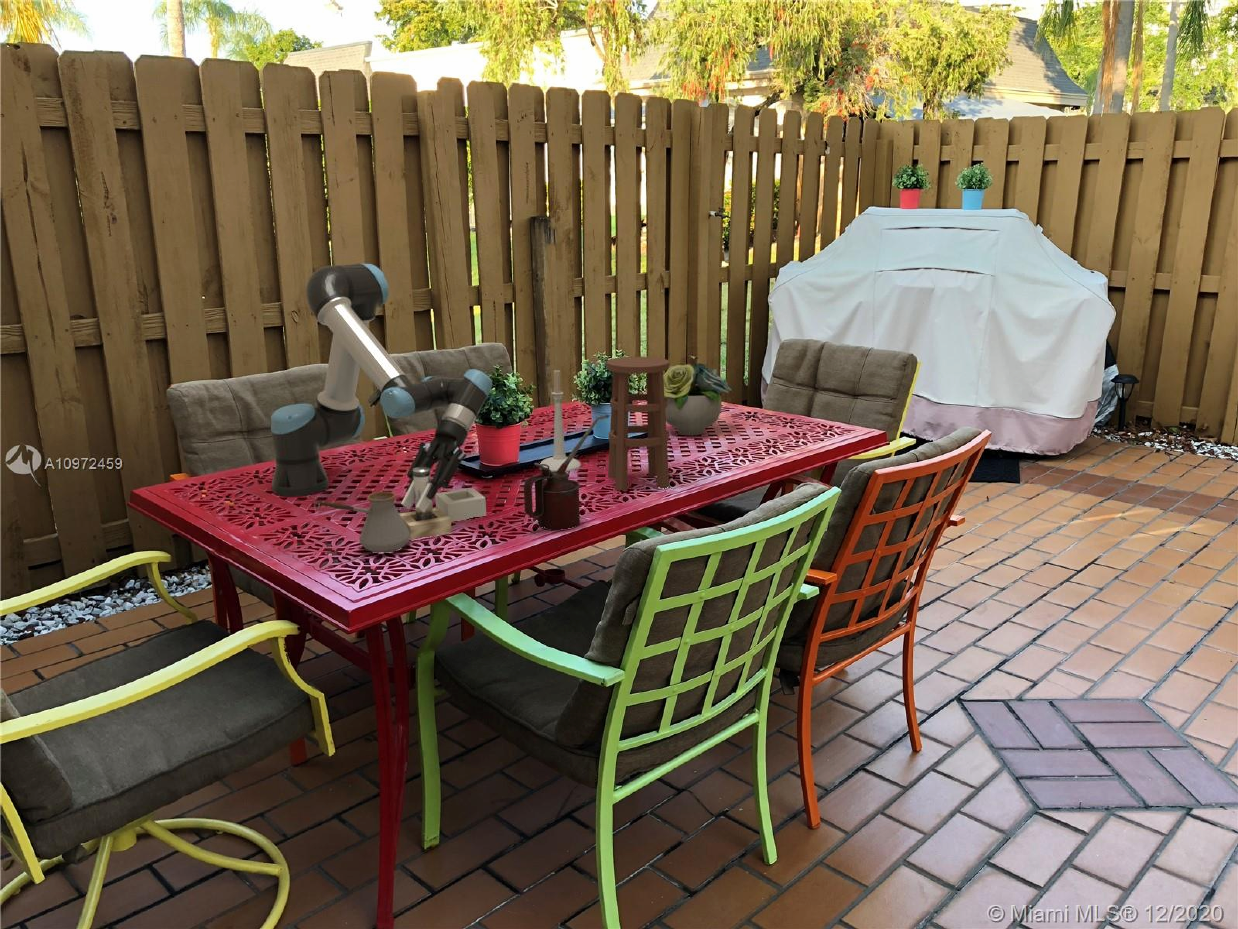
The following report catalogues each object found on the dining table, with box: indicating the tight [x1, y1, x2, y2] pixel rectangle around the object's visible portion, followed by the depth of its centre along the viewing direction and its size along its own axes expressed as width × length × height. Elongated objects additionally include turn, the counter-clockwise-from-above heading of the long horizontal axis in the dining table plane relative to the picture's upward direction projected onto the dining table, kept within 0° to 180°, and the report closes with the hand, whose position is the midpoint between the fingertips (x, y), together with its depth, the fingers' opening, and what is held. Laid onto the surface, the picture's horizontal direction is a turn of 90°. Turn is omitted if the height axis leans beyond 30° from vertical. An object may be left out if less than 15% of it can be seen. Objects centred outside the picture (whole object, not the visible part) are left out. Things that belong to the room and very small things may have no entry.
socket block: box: [399, 506, 452, 541], centre depth 215 cm, size 10×10×4 cm
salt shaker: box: [413, 467, 434, 521], centre depth 213 cm, size 4×4×14 cm
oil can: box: [523, 414, 611, 531], centre depth 220 cm, size 28×11×25 cm, turn 136°
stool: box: [605, 356, 670, 491], centre depth 247 cm, size 20×35×20 cm
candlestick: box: [539, 369, 582, 473], centre depth 265 cm, size 13×13×30 cm
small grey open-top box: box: [434, 487, 487, 522], centre depth 227 cm, size 10×10×5 cm
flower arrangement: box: [663, 362, 733, 436], centre depth 304 cm, size 25×25×24 cm
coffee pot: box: [313, 491, 410, 552], centre depth 200 cm, size 21×12×15 cm, turn 131°
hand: (412, 507), depth 210 cm, fingers closed on salt shaker, 4 cm apart
